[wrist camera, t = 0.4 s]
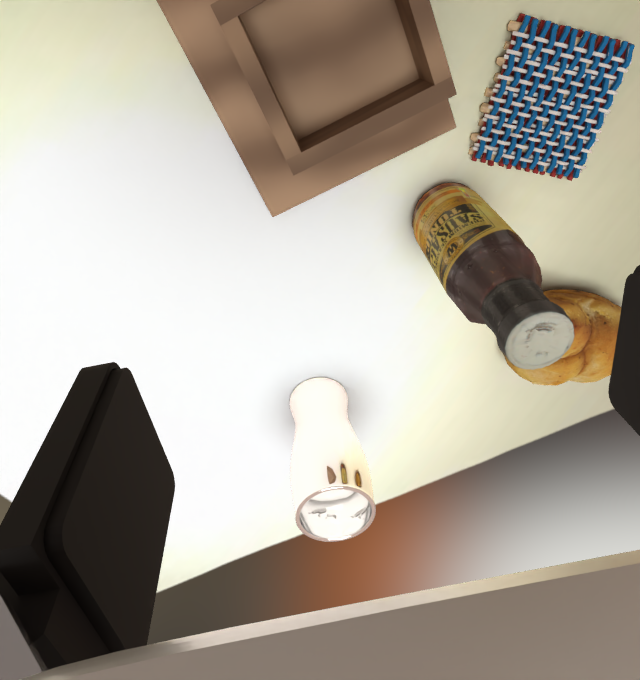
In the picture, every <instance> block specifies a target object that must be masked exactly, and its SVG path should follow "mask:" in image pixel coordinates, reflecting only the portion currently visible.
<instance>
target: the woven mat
mask: <svg viewBox="0 0 640 680" xmlns="http://www.w3.org/2000/svg"><path fill="white" fill-rule="evenodd" d="M530 18H531V19H530ZM538 21H539V20H538V19H537V18H534V17H531V16H528V15H526V16H525V14H520V15H519V17H518V19H517V21H511V20H510V22H509V24H508V31H511V32H512V40H511V41H506V43H505V46H504V49H505V50H507V51H506V53H507V55H506V54H504V57H497V61H496V63H497V64H498V65H499V66H502V68H503V69H502V72H501V73H496V74H495V76H494V79H493V80H494V81H495V82H496V83H497V84H495V87H496V88H495V89H494V88H493V89H492V88H488V87H486V90H485V93H484V96H487V97H490V101H489V103H488V104H487V103H483V104H482V105H481V107H480V112H484V118H483V119H481V118H480V121H479V123H478V125H479V126H482V129H481V132H480V133H472V135H471V140H472V141H473V142H477V143H474V146H476V147H474V146H473V147H470V149H469V152H468V154H470V155H473V156H472V159H471V160H472V161H476V160H477V158H478V159H480V157H481V162H483V163H485V162H486V160H488V165H489V166H493V165H494V162H498V161H500V162H499V166H502V167H503V166H504V164H505V165H507V164H508V165H507V168H506V169H511V167H512V166H516V169H518V170H521V168H525V171H526V172H529V171H530V169H532V170H533V173H536V174H538V172H539V171H540V174H541V175H544V174H545V172H547V173H551V174H550V176H552V177H555V176H556V174H558V176H557V178H559V179H561V178H562V177H563V176H566V177H567V180H571V181H572V179H573V178H578V177H579V173H581V172H582V170H581V169H585V168H587V167H586V166H582V165H583V164H585V162H587V160H588V159H587V153H592V150H589V149H590V147H591V146H594V144H595V143H594V142H595V141H596V142H598V141H599V139H598V138H596V134H597V133H601V130H599V129H600V128H601V126H602V125H604V122H603V119H604V118H606V116H607V114H605V113H608V114H609V113H610V111H611V110H608V108H609V107H610V106H611V105H613V95H617V93H618V92H616V89H617V88H618V87H619V85H620V84H621V82H622V81H623V79H624V78H623V72H625V73H626V72H627V71H628V70H629V69H626V68H627V67H628V66H629V65H631V62H632V61H631V59H632V52H633V49H634V44H631V43H628V42H626V41H623V42H622V43H621V46H620V41H621V40H618V39H616V40H615V39H612V38H610V37H608V36H604V37H603V36H598V38H597V35H596V34H593V33H590V32H589V31H585V32H584V31H583V30H580V29H579V31H578V30H577V29H574V28H571V27H570V26H563V25H560V27H559V29H558V24H555V23H551V21H545V20H541V22H540V24H539V27H537V24H538ZM528 23H529V24H528ZM557 29H558V32H557ZM582 35H583V37H582V38H581V36H582ZM522 37H523V41H522ZM596 38H597V40H596ZM595 40H596V42H595ZM515 55H517V57H515ZM592 59H593V61H592ZM535 60H536V62H535ZM559 66H560V67H559ZM558 67H559V68H558ZM520 72H521V73H522V74H521V77H520ZM591 74H592V75H591ZM529 79H530V80H529ZM614 80H615V81H614ZM558 82H559V84H558ZM515 87H517V88H515ZM570 88H571V90H570ZM514 92H515V93H514ZM537 97H538V98H537ZM499 103H501V104H500V106H499ZM509 106H510V107H509ZM590 110H592V111H590ZM495 115H497V116H495ZM505 117H506V118H505ZM493 119H494V120H495V121H494V120H493ZM530 127H531V129H530ZM548 131H549V133H548ZM490 132H491V133H490ZM489 134H490V135H489ZM498 134H499V137H498ZM570 136H571V137H570ZM485 143H487V144H486V145H485ZM552 145H553V146H552ZM497 151H498V152H497ZM580 154H581V155H580ZM550 162H551V163H550Z"/></svg>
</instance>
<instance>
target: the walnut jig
mask: <svg viewBox="0 0 640 680" xmlns="http://www.w3.org/2000/svg"><path fill="white" fill-rule="evenodd" d="M157 2H158V4H159V6H160V7H161V9H162V11H163V13H164V15H165V17H166V19H167V21H168V22H169V24H170V26H171V28H172V30H173V32H174V34H175V35H176V37H177V39H178V41H179V43H180V45H181V47H182V49H183V50H184V52H185V54H186V56H187V58H188V60H189V62H190V64H191V65H192V67H193V69H194V71H195V73H196V75H197V77H198V79H199V80H200V82H201V84H202V86H203V88H204V90H205V92H206V93H207V95H208V97H209V99H210V101H211V103H212V105H213V107H214V108H215V110H216V112H217V114H218V116H219V118H220V120H221V122H222V123H223V125H224V127H225V129H226V131H227V133H228V135H229V137H230V138H231V140H232V142H233V144H234V146H235V148H236V150H237V152H238V153H239V155H240V157H241V159H242V161H243V163H244V165H245V166H246V168H247V170H248V172H249V174H250V176H251V178H252V180H253V181H254V183H255V185H256V187H257V189H258V191H259V193H260V195H261V196H262V198H263V200H264V202H265V204H266V206H267V208H268V210H269V211H270V213H271V215H272V217H274V216H276V215H278V214H280V213H283V212H285V211H287V210H289V209H291V208H293V207H295V206H297V205H299V204H301V203H303V202H305V201H307V200H309V199H311V198H313V197H315V196H317V195H319V194H321V193H323V192H325V191H327V190H329V189H331V188H334V187H336V186H338V185H340V184H342V183H344V182H346V181H348V180H350V179H352V178H354V177H356V176H358V175H360V174H362V173H364V172H366V171H368V170H370V169H372V168H374V167H376V166H378V165H380V164H382V163H384V162H387V161H389V160H391V159H393V158H395V157H397V156H399V155H401V154H403V153H405V152H407V151H409V150H411V149H413V148H415V147H417V146H419V145H421V144H423V143H425V142H427V141H429V140H431V139H433V138H435V137H437V136H440V135H442V134H444V133H446V132H448V131H450V130H452V129H454V128H456V124H455V121H454V118H453V114H452V111H451V108H450V104H449V101H448V98H450V97H452V96H454V95H456V90H455V87H454V83H453V80H452V76H451V73H450V70H449V66H448V63H447V59H446V56H445V52H444V49H443V45H442V42H441V39H440V35H439V32H438V28H437V25H436V21H435V18H434V15H433V11H432V8H431V4H430V1H429V0H157Z"/></svg>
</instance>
